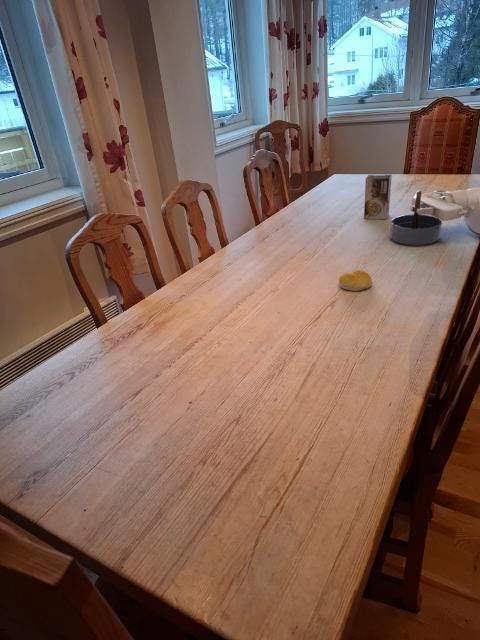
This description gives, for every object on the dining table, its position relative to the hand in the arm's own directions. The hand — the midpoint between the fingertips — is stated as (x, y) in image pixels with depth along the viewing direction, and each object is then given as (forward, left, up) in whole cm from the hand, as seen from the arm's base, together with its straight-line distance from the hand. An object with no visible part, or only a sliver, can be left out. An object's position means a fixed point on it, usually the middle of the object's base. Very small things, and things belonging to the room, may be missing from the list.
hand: (414, 210), depth 146 cm
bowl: (-1, +1, -10) cm, 10 cm away
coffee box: (+13, -23, -10) cm, 29 cm away
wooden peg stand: (-1, 0, -9) cm, 9 cm away
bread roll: (+15, +41, -10) cm, 44 cm away
